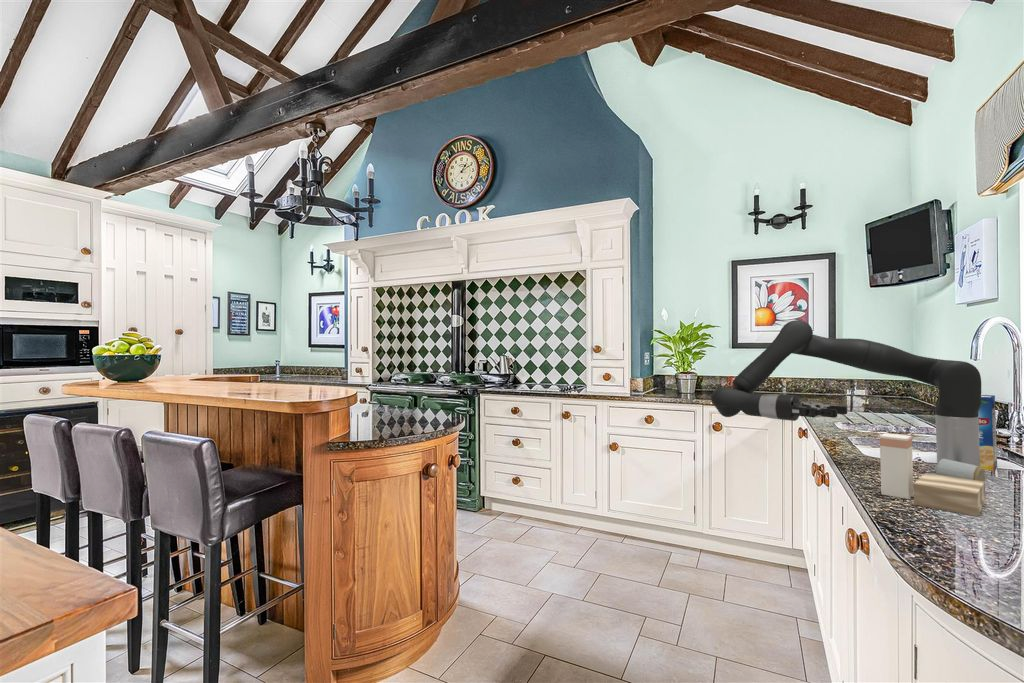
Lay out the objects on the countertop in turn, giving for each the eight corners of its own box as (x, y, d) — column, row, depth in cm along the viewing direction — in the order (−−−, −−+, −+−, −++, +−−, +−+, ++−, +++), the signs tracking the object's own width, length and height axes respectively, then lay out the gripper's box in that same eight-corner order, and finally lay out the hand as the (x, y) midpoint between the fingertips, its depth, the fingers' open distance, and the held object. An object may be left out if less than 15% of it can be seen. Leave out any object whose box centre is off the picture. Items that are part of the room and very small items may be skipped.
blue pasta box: (994, 471, 141) (991, 397, 142) (945, 464, 150) (942, 394, 150) (997, 467, 146) (995, 395, 146) (949, 460, 154) (947, 393, 154)
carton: (886, 489, 126) (884, 433, 126) (913, 494, 122) (912, 435, 122) (881, 494, 122) (879, 436, 123) (908, 499, 118) (907, 438, 118)
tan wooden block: (925, 492, 123) (925, 472, 123) (985, 502, 115) (984, 481, 115) (914, 504, 114) (913, 483, 114) (977, 516, 106) (977, 493, 106)
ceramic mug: (977, 497, 118) (976, 466, 119) (935, 489, 125) (934, 460, 126) (990, 490, 124) (989, 461, 124) (949, 483, 131) (948, 455, 131)
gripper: (769, 396, 139) (833, 400, 127) (788, 392, 148) (849, 396, 136) (769, 421, 139) (833, 428, 127) (788, 416, 148) (850, 422, 136)
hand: (842, 412), depth 131 cm, fingers open, 8 cm apart
